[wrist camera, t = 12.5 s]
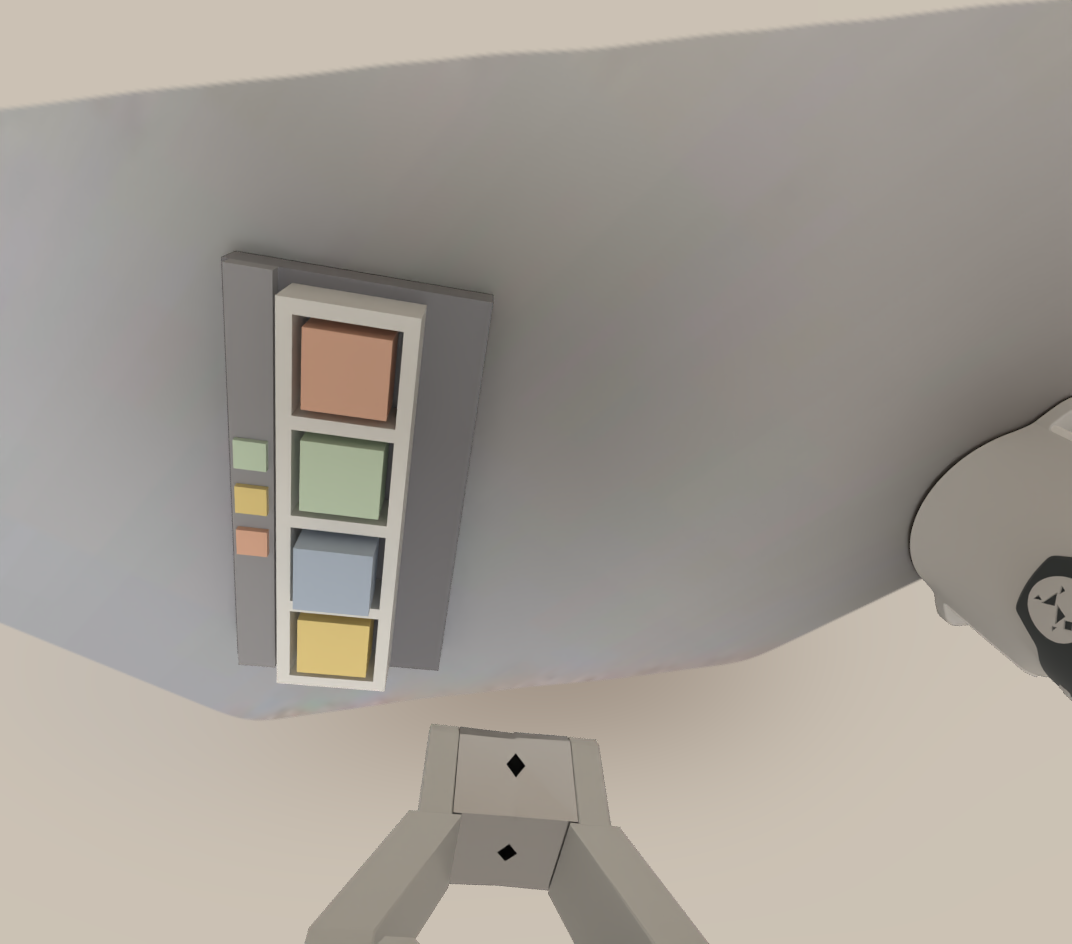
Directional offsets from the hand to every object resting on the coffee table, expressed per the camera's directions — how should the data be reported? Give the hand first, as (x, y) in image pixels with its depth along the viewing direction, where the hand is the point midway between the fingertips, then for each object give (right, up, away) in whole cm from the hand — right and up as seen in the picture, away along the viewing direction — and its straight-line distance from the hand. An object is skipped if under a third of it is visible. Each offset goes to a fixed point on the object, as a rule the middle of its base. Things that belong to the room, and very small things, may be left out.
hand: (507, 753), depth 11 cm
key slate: (-12, 0, +28) cm, 30 cm away
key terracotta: (-9, +11, +23) cm, 27 cm away
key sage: (-11, +6, +26) cm, 29 cm away
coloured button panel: (-11, +4, +30) cm, 32 cm away
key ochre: (-13, -5, +31) cm, 34 cm away
